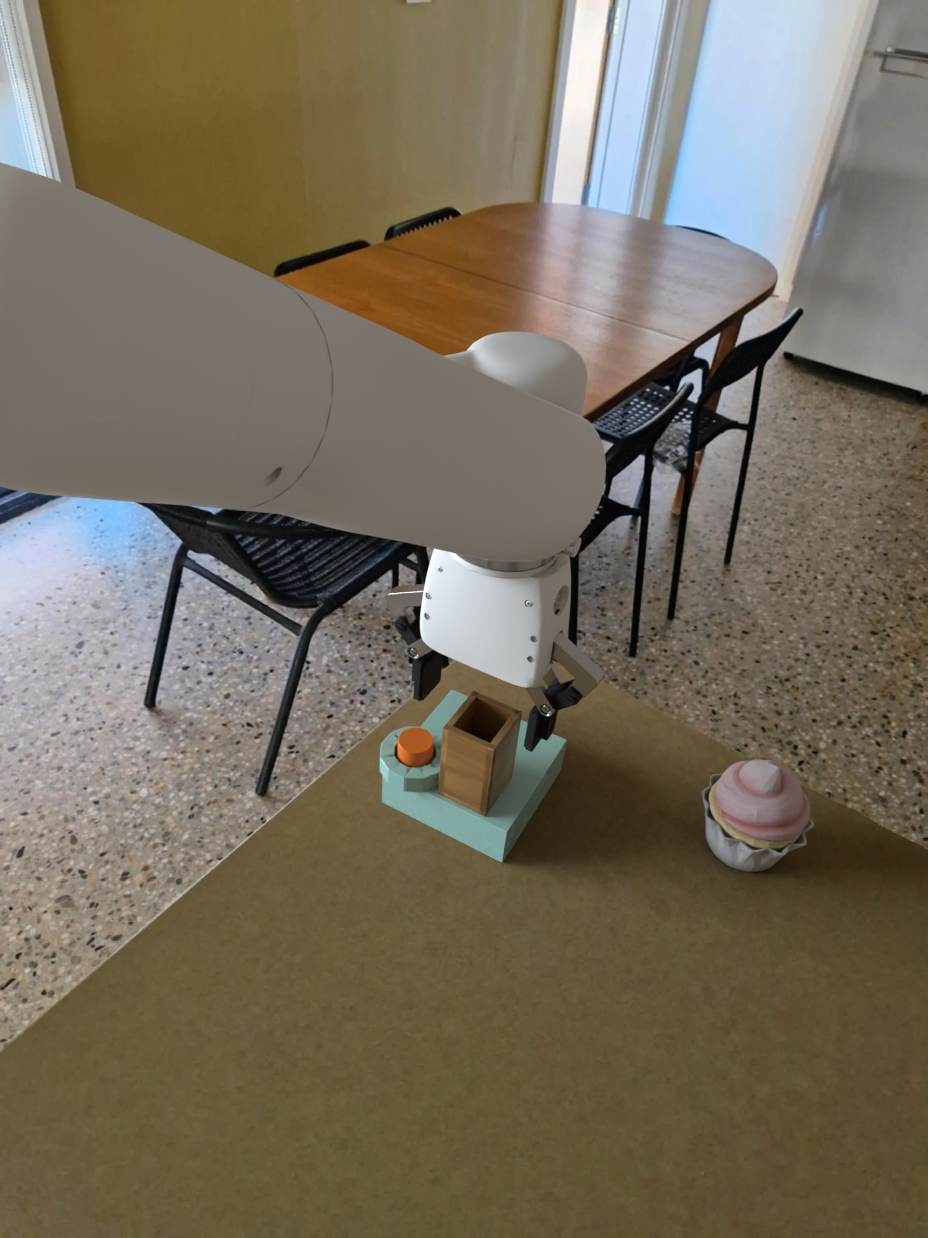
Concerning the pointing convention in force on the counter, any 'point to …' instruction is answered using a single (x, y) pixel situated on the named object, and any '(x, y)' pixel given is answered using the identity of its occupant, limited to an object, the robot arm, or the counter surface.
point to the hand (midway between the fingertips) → (480, 714)
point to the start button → (415, 747)
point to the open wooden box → (478, 752)
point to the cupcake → (755, 814)
